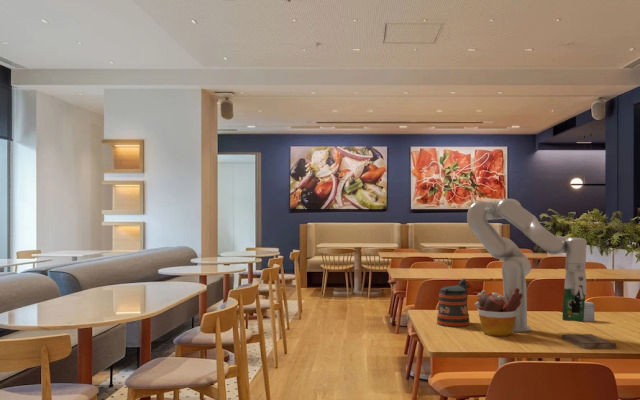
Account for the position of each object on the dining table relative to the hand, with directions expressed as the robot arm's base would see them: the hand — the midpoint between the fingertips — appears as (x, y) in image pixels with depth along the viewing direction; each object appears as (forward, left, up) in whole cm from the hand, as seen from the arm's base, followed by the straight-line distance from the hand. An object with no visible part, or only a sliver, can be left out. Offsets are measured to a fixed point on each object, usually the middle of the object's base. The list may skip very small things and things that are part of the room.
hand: (573, 311), depth 231 cm
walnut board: (-1, -14, -10) cm, 17 cm away
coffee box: (0, 0, -4) cm, 4 cm away
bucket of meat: (-30, +5, -10) cm, 32 cm away
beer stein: (-41, +30, -10) cm, 52 cm away
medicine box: (+22, +34, -10) cm, 42 cm away
